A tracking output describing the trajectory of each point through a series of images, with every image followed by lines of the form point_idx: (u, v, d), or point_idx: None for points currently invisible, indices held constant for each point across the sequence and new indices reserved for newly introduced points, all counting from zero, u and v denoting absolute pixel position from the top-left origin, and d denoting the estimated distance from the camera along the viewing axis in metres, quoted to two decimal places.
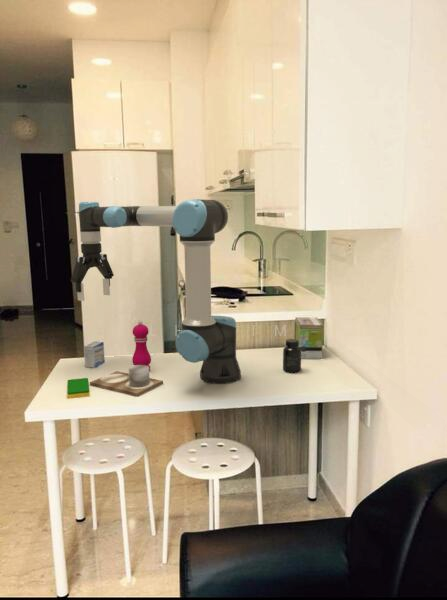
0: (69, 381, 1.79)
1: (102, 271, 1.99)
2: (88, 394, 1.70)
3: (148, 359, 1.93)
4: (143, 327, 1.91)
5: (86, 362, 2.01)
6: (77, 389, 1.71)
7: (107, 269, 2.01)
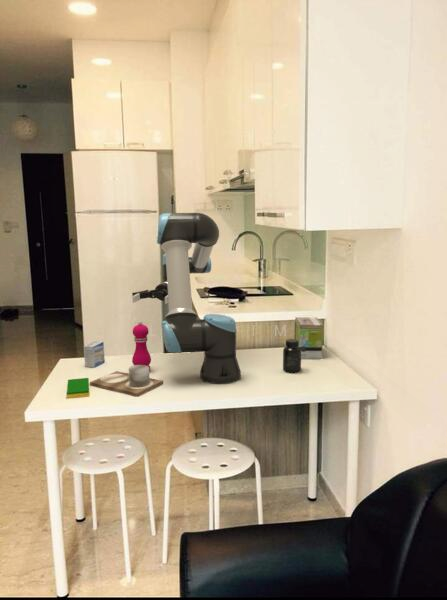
0: (69, 381, 1.79)
1: (167, 295, 2.12)
2: (88, 394, 1.70)
3: (148, 359, 1.93)
4: (143, 327, 1.91)
5: (86, 362, 2.01)
6: (77, 389, 1.71)
7: None
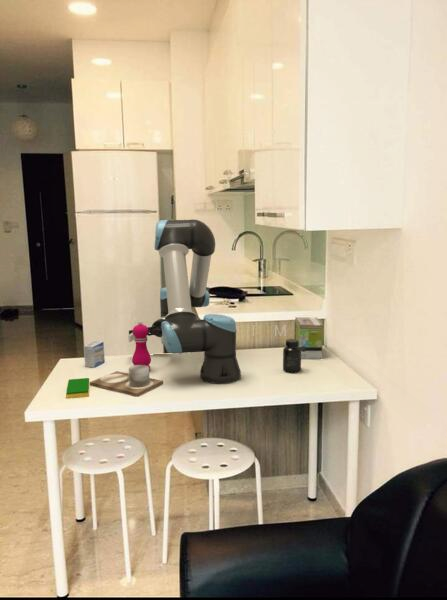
0: (70, 381, 1.79)
1: None
2: (87, 394, 1.70)
3: (148, 359, 1.93)
4: (143, 327, 1.91)
5: (86, 362, 2.01)
6: (76, 389, 1.71)
7: None
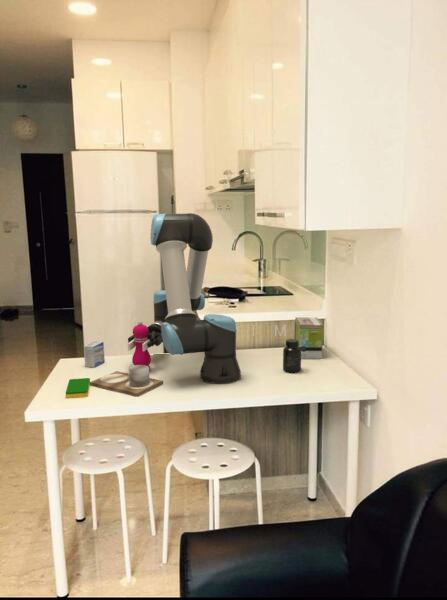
0: (70, 381, 1.79)
1: None
2: (86, 395, 1.70)
3: (148, 359, 1.93)
4: (143, 327, 1.91)
5: (86, 362, 2.01)
6: (76, 389, 1.71)
7: None
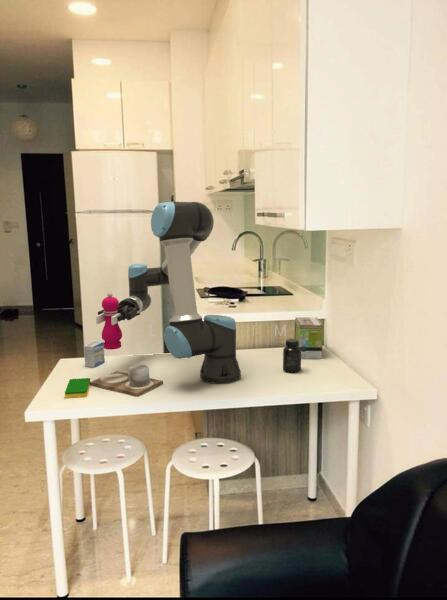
0: (71, 380, 1.79)
1: None
2: (85, 395, 1.70)
3: (118, 334, 1.79)
4: (113, 299, 1.77)
5: (86, 362, 2.01)
6: (75, 389, 1.71)
7: None
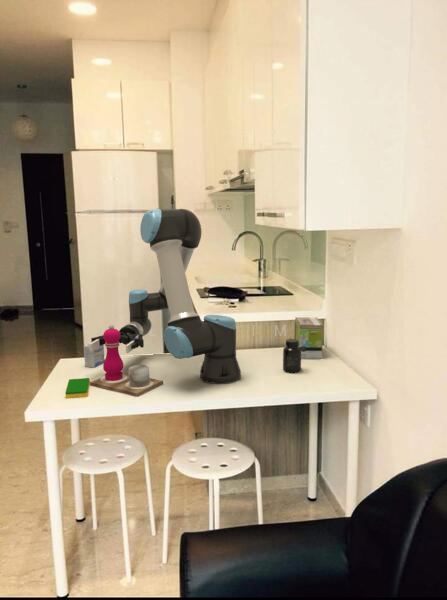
0: (70, 381, 1.79)
1: (131, 340, 1.87)
2: (86, 395, 1.70)
3: (120, 365, 1.81)
4: (114, 331, 1.79)
5: (86, 362, 2.01)
6: (76, 389, 1.71)
7: (139, 341, 1.87)
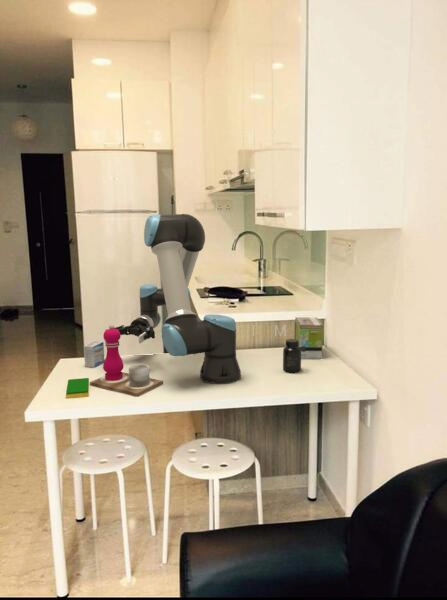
0: (69, 381, 1.79)
1: (143, 332, 1.99)
2: (87, 394, 1.70)
3: (120, 365, 1.81)
4: (114, 331, 1.79)
5: (86, 362, 2.01)
6: (76, 389, 1.71)
7: (150, 332, 1.99)
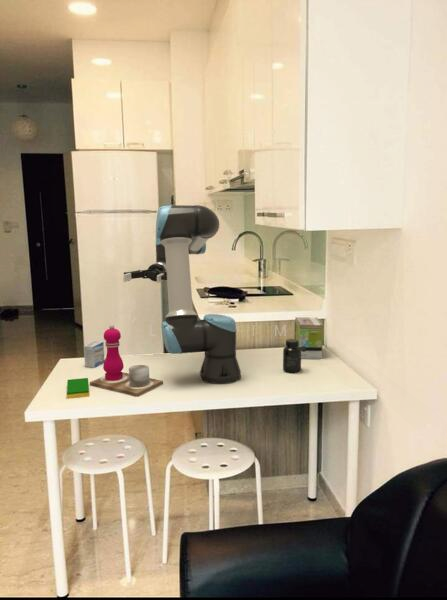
0: (69, 381, 1.79)
1: None
2: (88, 394, 1.70)
3: (120, 365, 1.81)
4: (115, 331, 1.79)
5: (86, 362, 2.01)
6: (77, 389, 1.71)
7: None
